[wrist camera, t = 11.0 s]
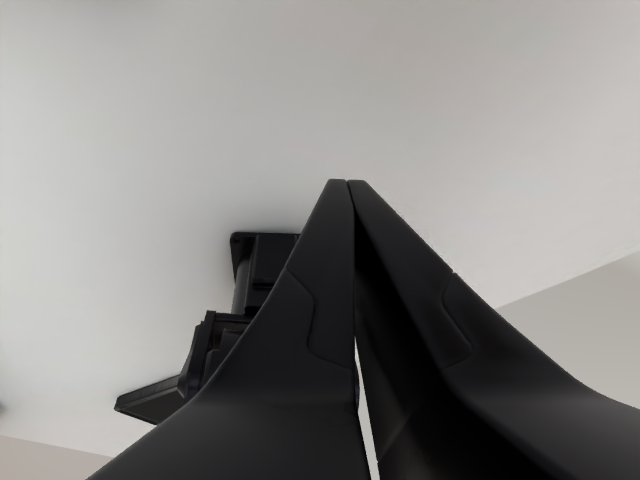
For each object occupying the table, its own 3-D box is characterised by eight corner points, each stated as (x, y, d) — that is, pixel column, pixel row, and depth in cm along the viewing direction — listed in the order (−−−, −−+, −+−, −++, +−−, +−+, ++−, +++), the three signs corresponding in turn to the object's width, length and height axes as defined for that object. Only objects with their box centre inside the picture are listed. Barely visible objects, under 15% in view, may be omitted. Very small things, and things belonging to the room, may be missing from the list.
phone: (109, 408, 43) (207, 375, 38) (112, 399, 44) (208, 365, 39) (161, 427, 48) (253, 400, 43) (163, 418, 49) (254, 390, 44)
